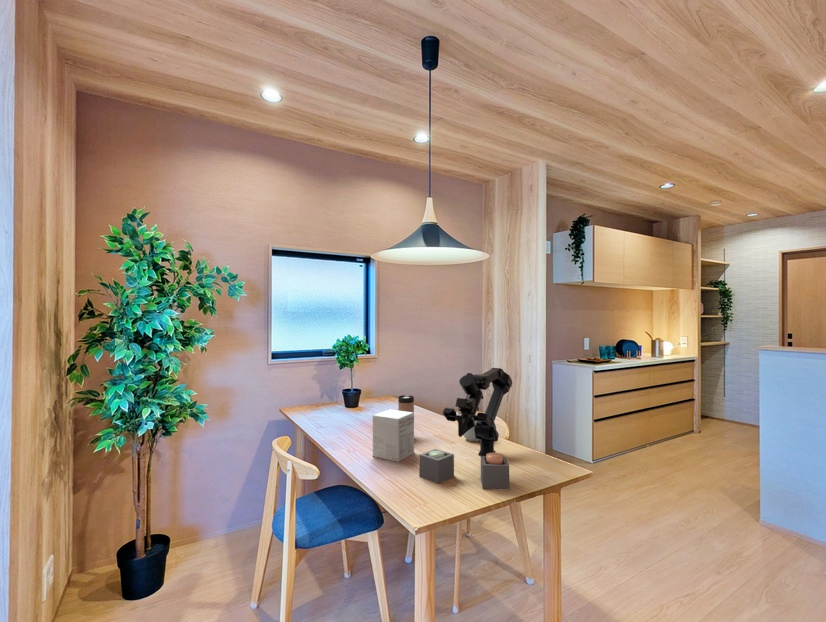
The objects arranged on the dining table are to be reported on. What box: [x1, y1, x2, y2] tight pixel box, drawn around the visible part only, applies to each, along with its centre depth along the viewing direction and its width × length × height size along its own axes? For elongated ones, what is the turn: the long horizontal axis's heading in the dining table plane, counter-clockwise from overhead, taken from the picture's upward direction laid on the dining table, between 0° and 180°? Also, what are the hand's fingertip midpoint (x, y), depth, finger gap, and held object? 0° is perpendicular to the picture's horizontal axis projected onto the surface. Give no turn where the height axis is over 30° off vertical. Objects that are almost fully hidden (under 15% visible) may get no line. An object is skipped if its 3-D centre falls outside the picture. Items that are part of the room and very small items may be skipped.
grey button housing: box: [418, 448, 455, 484], centre depth 150 cm, size 9×9×8 cm
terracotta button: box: [486, 452, 504, 465], centre depth 143 cm, size 6×6×3 cm
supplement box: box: [372, 409, 415, 463], centre depth 174 cm, size 13×13×18 cm
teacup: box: [463, 427, 480, 442], centre depth 196 cm, size 14×11×8 cm
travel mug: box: [397, 394, 415, 413], centre depth 197 cm, size 8×8×20 cm
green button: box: [429, 450, 445, 459], centre depth 150 cm, size 6×6×3 cm
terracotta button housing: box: [480, 455, 510, 490], centre depth 143 cm, size 9×9×8 cm
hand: (459, 436), depth 154 cm, fingers closed
